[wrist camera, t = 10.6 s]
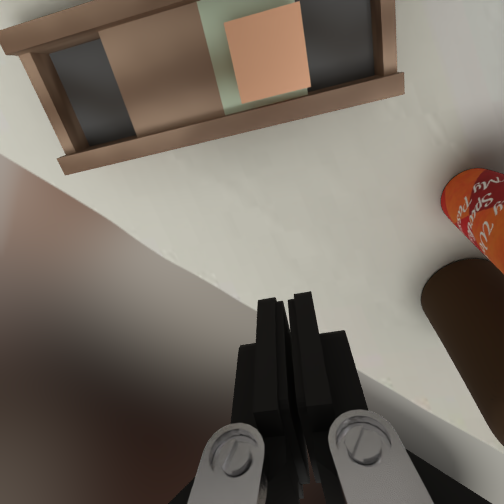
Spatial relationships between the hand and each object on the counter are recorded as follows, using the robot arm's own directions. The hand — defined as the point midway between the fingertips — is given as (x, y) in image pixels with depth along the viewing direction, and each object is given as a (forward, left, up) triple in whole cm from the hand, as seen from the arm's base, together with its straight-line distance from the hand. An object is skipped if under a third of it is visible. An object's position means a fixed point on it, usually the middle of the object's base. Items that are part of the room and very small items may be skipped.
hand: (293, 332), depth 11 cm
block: (-8, +1, -22) cm, 24 cm away
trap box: (-9, -4, -25) cm, 27 cm away
